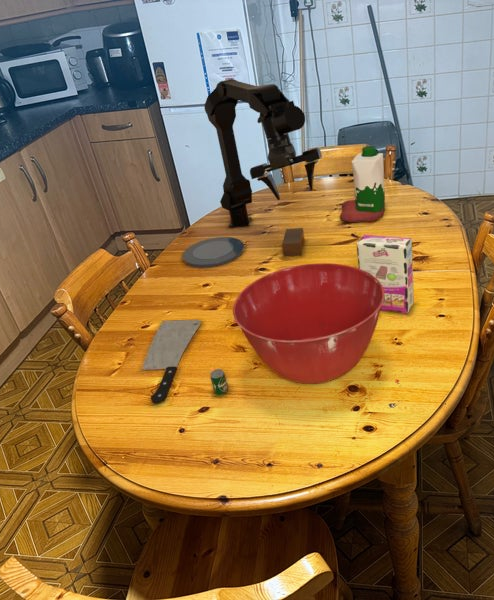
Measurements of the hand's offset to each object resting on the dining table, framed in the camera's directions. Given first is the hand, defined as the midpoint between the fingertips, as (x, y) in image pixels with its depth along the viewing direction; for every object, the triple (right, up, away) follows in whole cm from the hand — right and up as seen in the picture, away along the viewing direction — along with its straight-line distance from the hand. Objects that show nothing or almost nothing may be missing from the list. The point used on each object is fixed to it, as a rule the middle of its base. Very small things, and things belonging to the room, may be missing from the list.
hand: (295, 195), depth 146 cm
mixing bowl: (+5, -40, -35) cm, 54 cm away
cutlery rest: (0, -13, +12) cm, 17 cm away
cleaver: (-28, -40, -28) cm, 56 cm away
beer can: (-14, -46, -39) cm, 62 cm away
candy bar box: (+21, -29, -20) cm, 41 cm away
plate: (-24, -14, +15) cm, 32 cm away
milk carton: (+23, -1, +27) cm, 36 cm away
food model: (+21, +1, +27) cm, 34 cm away
